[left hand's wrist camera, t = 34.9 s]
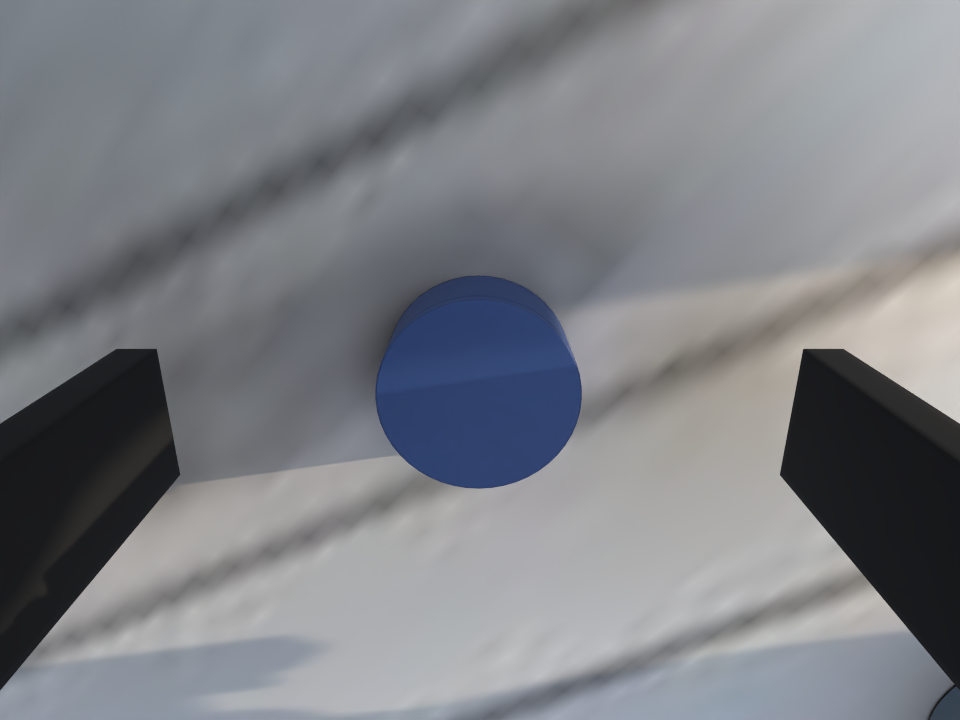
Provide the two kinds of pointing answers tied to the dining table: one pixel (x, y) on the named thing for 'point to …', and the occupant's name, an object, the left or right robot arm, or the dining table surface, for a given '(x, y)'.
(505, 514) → the dining table surface
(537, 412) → the cap
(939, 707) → the bottle
